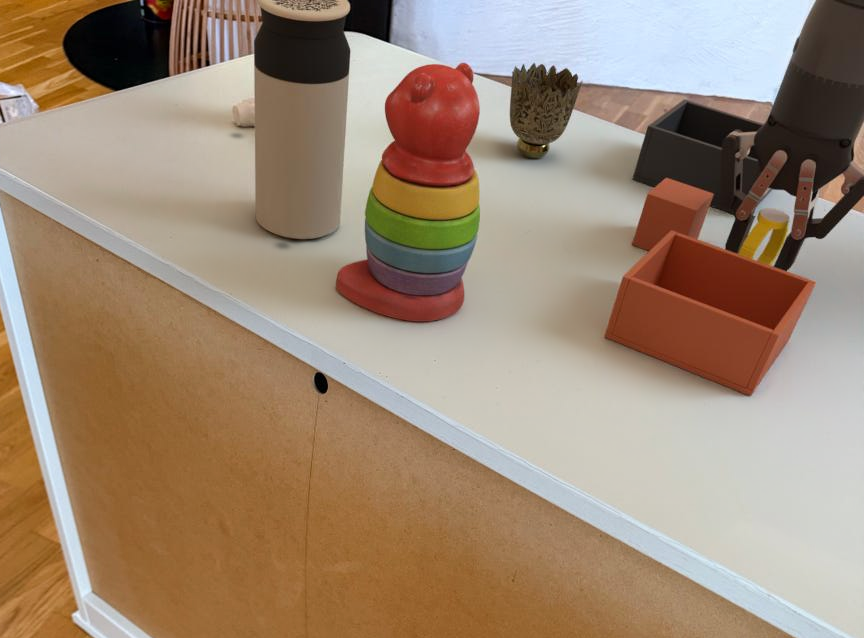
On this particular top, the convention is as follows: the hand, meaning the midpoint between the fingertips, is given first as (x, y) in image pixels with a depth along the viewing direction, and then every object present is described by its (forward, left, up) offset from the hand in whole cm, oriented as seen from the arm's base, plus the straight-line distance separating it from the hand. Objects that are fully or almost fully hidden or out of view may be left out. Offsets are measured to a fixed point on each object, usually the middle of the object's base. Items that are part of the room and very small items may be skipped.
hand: (755, 263), depth 88 cm
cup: (+29, -10, -1) cm, 31 cm away
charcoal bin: (+11, -18, -1) cm, 21 cm away
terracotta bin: (0, +15, -1) cm, 15 cm away
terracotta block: (+9, 0, -1) cm, 9 cm away
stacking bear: (+23, +26, -1) cm, 35 cm away
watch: (0, 0, -1) cm, 1 cm away
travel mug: (+38, +22, -1) cm, 44 cm away
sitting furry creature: (+52, +5, -1) cm, 52 cm away
